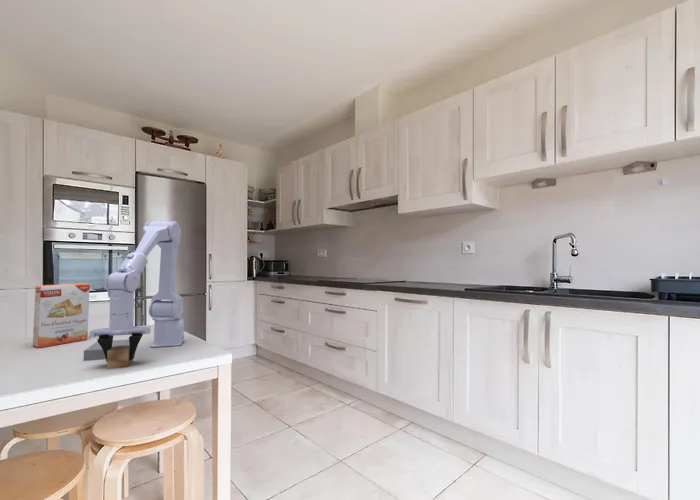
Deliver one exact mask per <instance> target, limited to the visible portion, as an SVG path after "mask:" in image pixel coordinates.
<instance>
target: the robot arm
mask: <svg viewBox="0 0 700 500" xmlns="http://www.w3.org/2000/svg"><path fill="white" fill-rule="evenodd" d="M142 232H143V236H142V237H141V240H140V242H139V243H138V245H137V247H136V249H135V251H133V252H130V253H128V254H127V255H126V257H125V259H123V261H122V262H121V264H120V266H119V267H118V268H117V270H116V271H114V272H112V273H110V274H109V275H107V278H106V280H105V282H104V286H105V289H106V291H107V297H108V298H109V322H108V323H109V324H108V325H109V327H105V328H104V327H103V328H93V329H90V330H89V338H95V337H98V338H97V341H98V343H99V344H100V346H101V348H102V349H103V352H104V354H105V358H106V359H105V361H106V363H107V351H108V350H109V349H111V348H112V342H113V340H114V336H127V335H129V337H128V339H129V343H130V353H129V360H133V361H134V359H135V355H136V352H137V348H138V345H139V344H140V341H141V339H142V338H143V336H144V335H150V334H151V325H150V326H145V325H143V326H142V325H141V326H140V325H139V326H138V325H137V326H136V325H135V326H134V305H135V300H134V299H135V291H136V290H137V289H138V288H139V286H140V280H141V274H142V272H143V271H144V269H145V268H146V266H147V264H148V262H149V261H148V258H147V257H148V255H149V254H151V253H150V252H152V250H153V249H155V247H156V245H157V246H158V247H159V249H160V259H159V277H158V292H156V294H154V295H153V296H152V297H150V303H149V306H148V314H149V317H150V318H152V321H154V322H153V323H154V324H153V325H154V327H153V329H154V330H153V342H152V344H151V345H150V348H159V347H161V348H163V347H174V346H176V347H177V346H181V345H182V343H183V342H184V341H185V334H184V333H185V320H184V318H181V316H182V315H183V312H184V304H183V297H182V296H181V295H180V294H178V293H177V292H176V276H177V262H178V261H177V260H178V259H177V258H178V246H179V245H180V244H181V236H182V235H181V234H182V229H181V227H180V224H179V223H178V222H177V221H174V220H173V221H159V220H158V221H157V220H156V221H154V220H148V221H146V222H145V224H144V226H143V227H142ZM97 341H96V342H97Z"/></svg>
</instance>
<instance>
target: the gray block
mask: <svg viewBox="0 0 700 500" xmlns="http://www.w3.org/2000/svg"><path fill="white" fill-rule="evenodd" d="M124 345H130V343H129V338H128V339H115V340H114V339H113V342H112V347H113V346H124ZM99 360H106V358H105V354H104V352H103V349H102V348H101V346H100V344H99V343H98V341H96V342H94V343H92V345H90V346H88V347H87V348H86V349H84V350H83V362H86V361H88V362H89V361H99Z"/></svg>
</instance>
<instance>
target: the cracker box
mask: <svg viewBox="0 0 700 500" xmlns="http://www.w3.org/2000/svg"><path fill="white" fill-rule="evenodd" d="M90 286H91V285H90V284H89V283H62V284H61V283H60V284H44V285H41V284H40V285H35V287H34V288H35V289H34V290H35V291H34V307H33V309H34V311H33V315H34V316H33V329H32V330H33V331H32V346H34V347H36V348H37V349H41V348H46V347H51V346H57V345H58V346H59V345H63V344H70V343H75V342H81V341H82V342H83V341H87V340H88V334H89V333H88V331H89V312H90V310H89V309H90Z"/></svg>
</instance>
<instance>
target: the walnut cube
mask: <svg viewBox="0 0 700 500" xmlns="http://www.w3.org/2000/svg"><path fill="white" fill-rule="evenodd" d="M129 353H130V345H124V346H113V347H112V348H111V349H109V350H108V351H107V362H106V369H107V370H108V369H121V368H128V367H129V366H131V364H132V363H133V362H134V359H133V360H129Z"/></svg>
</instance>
